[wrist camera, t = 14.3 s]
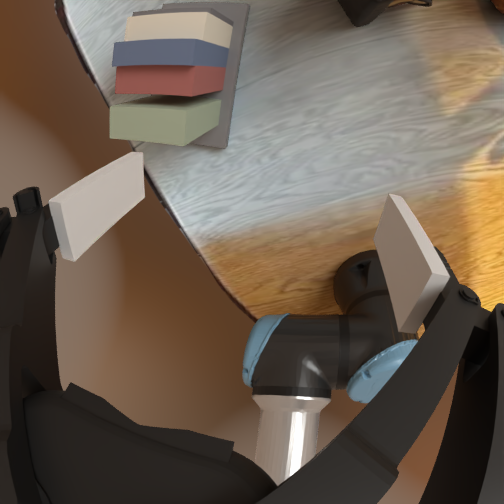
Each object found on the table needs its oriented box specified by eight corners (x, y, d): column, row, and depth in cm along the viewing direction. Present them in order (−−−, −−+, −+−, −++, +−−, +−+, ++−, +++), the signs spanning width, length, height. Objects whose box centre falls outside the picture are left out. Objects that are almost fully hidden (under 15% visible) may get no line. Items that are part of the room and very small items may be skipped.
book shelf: (227, 146, 43) (194, 178, 31) (153, 136, 44) (101, 163, 32) (249, 6, 29) (221, -24, 18) (167, 5, 30) (113, -12, 18)
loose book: (218, 125, 40) (183, 146, 29) (158, 118, 40) (109, 138, 30) (221, 99, 37) (186, 110, 27) (159, 94, 38) (109, 106, 27)
